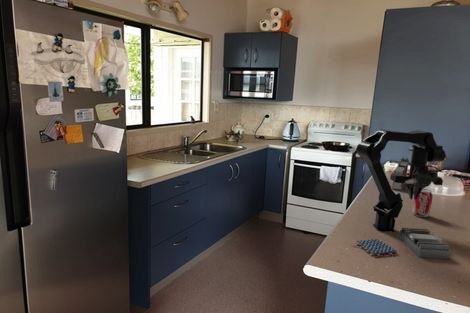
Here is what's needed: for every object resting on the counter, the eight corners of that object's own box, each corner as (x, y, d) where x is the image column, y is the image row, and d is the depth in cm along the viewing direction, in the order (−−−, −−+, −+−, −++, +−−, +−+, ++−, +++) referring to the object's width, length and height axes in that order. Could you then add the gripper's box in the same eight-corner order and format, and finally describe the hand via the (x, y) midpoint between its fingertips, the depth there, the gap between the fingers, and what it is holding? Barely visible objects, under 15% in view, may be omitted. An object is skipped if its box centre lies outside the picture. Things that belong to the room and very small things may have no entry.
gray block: (412, 241, 124) (412, 237, 124) (406, 236, 128) (407, 233, 128) (441, 243, 124) (442, 239, 124) (435, 238, 128) (436, 235, 128)
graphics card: (398, 178, 230) (401, 157, 227) (406, 179, 227) (409, 158, 225) (391, 190, 202) (395, 166, 199) (400, 191, 200) (404, 167, 197)
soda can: (411, 216, 159) (415, 190, 157) (412, 211, 165) (415, 187, 163) (429, 219, 156) (433, 193, 153) (429, 214, 162) (433, 189, 160)
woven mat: (373, 259, 117) (374, 254, 116) (354, 245, 127) (354, 240, 126) (399, 256, 120) (400, 251, 119) (378, 243, 130) (379, 238, 129)
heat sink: (418, 257, 119) (420, 244, 118) (398, 237, 134) (400, 226, 134) (448, 259, 119) (451, 246, 118) (425, 238, 134) (427, 227, 133)
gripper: (404, 165, 133) (398, 204, 136) (453, 168, 132) (446, 207, 135) (392, 159, 144) (387, 195, 147) (438, 161, 143) (432, 198, 146)
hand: (413, 199), depth 144 cm, fingers closed
